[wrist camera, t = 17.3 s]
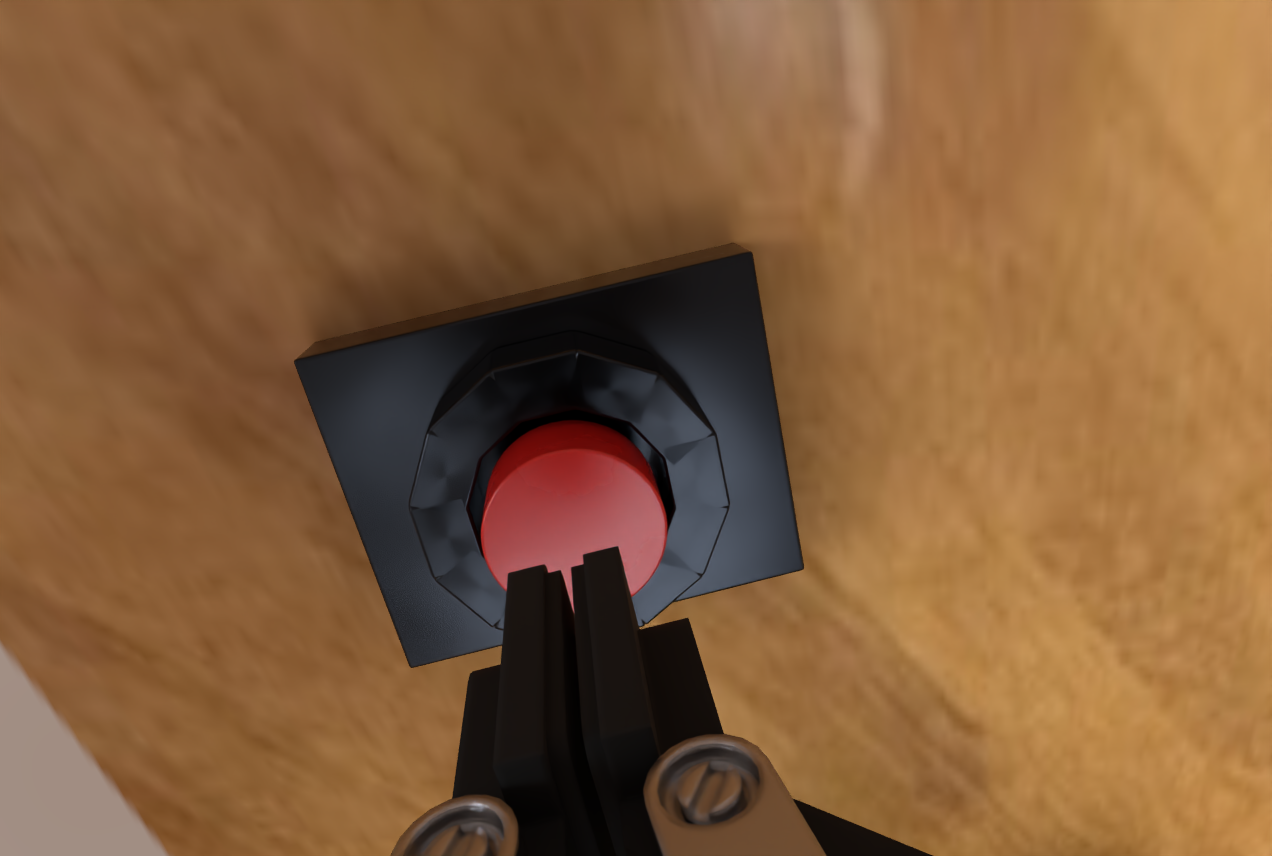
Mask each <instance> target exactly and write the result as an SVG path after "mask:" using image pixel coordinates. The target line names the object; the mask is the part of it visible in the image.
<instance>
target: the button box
mask: <svg viewBox="0 0 1272 856" xmlns="http://www.w3.org/2000/svg"><path fill="white" fill-rule="evenodd" d="M294 364H295V366H296V369H297V372H298V374H299V377H300V380H301V382H302V385H303V387H304V390H305V393H306V395H307V398H308V401H309V403H310V406H311V409H312V411H313V414H314V416H315V419H316V422H317V424H318V427H319V430H320V432H321V435H322V437H323V440H324V443H325V445H326V448H327V451H328V453H329V456H330V458H331V461H332V464H333V466H334V469H335V472H336V474H337V477H338V480H339V482H340V485H341V487H342V490H343V493H344V495H345V498H346V501H347V503H348V506H349V508H350V511H351V514H352V516H353V519H354V522H355V524H356V527H357V529H358V532H359V535H360V537H361V540H362V543H363V545H364V548H365V551H366V553H367V556H368V558H369V561H370V564H371V566H372V569H373V572H374V574H375V577H376V579H377V582H378V585H379V587H380V590H381V593H382V595H383V598H384V601H385V603H386V606H387V608H388V611H389V614H390V616H391V619H392V622H393V624H394V627H395V629H396V632H397V635H398V637H399V640H400V643H401V645H402V648H403V650H404V653H405V656H406V658H407V661H408V664H409V666H410V667H411V668H414V667H418V666H422V665H426V664H430V663H434V662H438V661H442V660H446V659H450V658H454V657H458V656H462V655H466V654H470V653H474V652H478V651H482V650H486V649H490V648H494V647H498V646H502V642H503V629H504V616H505V604H506V591H505V590H504V589H503V588H502V587H501V586H500V584H499V583H498V582H497V581H496V579H495V578H494V577H493V575H492V573H491V571H490V570H489V568H488V566H487V563H486V561H485V558H484V554H483V550H482V545H481V524H482V517H483V511H484V504H485V498H486V492H487V486H488V481H489V478H490V475H491V473H492V470H493V468H494V466H495V464H496V462H497V461H498V459H499V458H500V456H501V455H502V454H503V452H504V451H505V450H506V449H507V448H508V447H509V446H510V445H511V444H512V443H513V442H514V441H516V440H517V439H518V438H519V437H521V436H522V435H524V434H525V433H527V432H529V431H531V430H533V429H535V428H537V427H539V426H542V425H545V424H549V423H552V422H558V421H566V420H580V421H589V422H594V423H598V424H601V425H604V426H607V427H609V428H611V429H613V430H615V431H618V432H619V433H621V434H622V435H624V436H625V437H627V438H628V439H629V440H630V441H631V442H632V443H634V444H635V445H636V447H637V448H638V449H639V450H640V451H641V452H642V454H643V455H644V457H645V458H646V460H647V461H648V463H649V466H650V468H651V470H652V473H653V476H654V478H655V481H656V484H657V487H658V490H659V493H660V496H661V499H662V502H663V505H664V509H665V512H666V517H667V533H668V535H667V542H666V547H665V551H664V554H663V557H662V559H661V562H660V564H659V566H658V568H657V569H656V571H655V573H654V574H653V576H652V577H651V578H650V580H649V581H648V582H647V583H646V585H645V586H644V587H643V588H642V589H641V590H639V591H638V592H637V593H636V594H635V595H634V596H632V597H631V598H632V602H633V605H634V609H635V613H636V617H637V621H638V625H639V627H643V626H644V625H645V624H648V623H649V622H650V621H651V620H653V619H654V618H655V617H656V616H657V615H659V614H660V613H661V612H662V611H663V610H664V609H666V608H667V607H668V606H669V605H670V604H671V603H673V602H677V601H681V600H685V599H689V598H693V597H697V596H701V595H705V594H709V593H713V592H717V591H721V590H725V589H729V588H733V587H737V586H741V585H744V584H748V583H752V582H756V581H760V580H764V579H768V578H772V577H776V576H780V575H784V574H788V573H792V572H796V571H800V570H803V569H804V563H803V557H802V551H801V545H800V539H799V533H798V527H797V521H796V514H795V508H794V502H793V496H792V490H791V484H790V478H789V472H788V466H787V460H786V453H785V447H784V441H783V435H782V429H781V423H780V417H779V411H778V405H777V399H776V392H775V386H774V380H773V374H772V368H771V362H770V356H769V350H768V344H767V338H766V331H765V325H764V319H763V313H762V307H761V301H760V295H759V289H758V283H757V277H756V271H755V264H754V258H753V254H752V252H751V251H749V250H747V249H745V248H743V247H741V246H739V245H737V244H736V243H730V244H726V245H721V246H717V247H713V248H709V249H705V250H700V251H696V252H692V253H688V254H684V255H679V256H675V257H671V258H667V259H663V260H658V261H654V262H650V263H646V264H641V265H637V266H633V267H629V268H625V269H620V270H616V271H612V272H608V273H604V274H599V275H595V276H591V277H587V278H583V279H578V280H574V281H570V282H566V283H562V284H557V285H553V286H549V287H545V288H541V289H536V290H532V291H528V292H524V293H519V294H515V295H511V296H507V297H503V298H498V299H494V300H490V301H486V302H482V303H477V304H473V305H469V306H465V307H461V308H456V309H452V310H448V311H444V312H440V313H435V314H431V315H427V316H423V317H418V318H414V319H410V320H406V321H402V322H397V323H393V324H389V325H385V326H381V327H376V328H372V329H368V330H364V331H360V332H355V333H351V334H347V335H343V336H339V337H334V338H330V339H326V340H322V341H318V342H315V343H314V344H312V345H311V346H310V347H309V348H308V349H307V350H306V351H305V352H303V353H302V354H301V355H300V356H299V357H298V358H297V359H296V360H294Z"/></svg>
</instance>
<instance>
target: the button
mask: <svg viewBox="0 0 1272 856" xmlns="http://www.w3.org/2000/svg"><path fill="white" fill-rule="evenodd" d="M667 535H668V533H667V517H666V512H665V509H664V505H663V502H662V499H661V496H660V493H659V490H658V487H657V484H656V481H655V478H654V476H653V473H652V470H651V468H650V466H649V463H648V461H647V460H646V458H645V457H644V455H643V454H642V452H641V451H640V450H639V449H638V448H637V447H636V445H635V444H634V443H632V442H631V441H630V440H629V439H628V438H627V437H625V436H624V435H622V434H621V433H619V432H618V431H615V430H613V429H611V428H609V427H607V426H604V425H601V424H598V423H594V422H589V421H580V420H566V421H558V422H552V423H549V424H545V425H542V426H539V427H537V428H535V429H533V430H531V431H529V432H527V433H525V434H524V435H522V436H521V437H519V438H518V439H517V440H516V441H514V442H513V443H512V444H511V445H510V446H509V447H508V448H507V449H506V450H505V451H504V452H503V454H502V455H501V456H500V458H499V459H498V461H497V462H496V464H495V466H494V468H493V470H492V473H491V475H490V478H489V481H488V486H487V492H486V498H485V504H484V511H483V517H482V524H481V545H482V550H483V554H484V558H485V561H486V563H487V566H488V568H489V570H490V571H491V573H492V575H493V577H494V578H495V579H496V581H497V582H498V583H499V584H500V586H501V587H502V588H503V589H504V590H505V591H507V578H508V573H510V572H514V571H518V570H522V569H526V568H530V567H534V566H538V565H542V564H545V565H546V567H547V570H548V573H550V572H554V571H558V570H561V572H562V575H563V578H564V581H565V585H566V588H567V591H568V595H569V598H570V602H571V605H572V609H573V612H574V606H573V591H572V576H571V567H574V566H578V565H582V564H584V563H583V554H587V553H591V552H595V551H599V550H603V549H607V548H611V547H615V546H618V547H619V551H620V554H621V558H622V562H623V566H624V570H625V574H626V578H627V582H628V586H629V590H630V594H631V597H632V596H634V595H635V594H636V593H637V592H638V591H639V590H641V589H642V588H643V587H644V586H645V585H646V583H647V582H648V581H649V580H650V578H651V577H652V576H653V574H654V573H655V571H656V569H657V568H658V566H659V564H660V562H661V559H662V557H663V554H664V551H665V547H666V542H667Z"/></svg>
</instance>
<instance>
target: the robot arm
mask: <svg viewBox="0 0 1272 856" xmlns="http://www.w3.org/2000/svg"><path fill="white" fill-rule="evenodd" d="M583 563H584V564H582V565H578V566H574V567H571V576H572V591H573V606H574V612H573V609H572V605H571V602H570V598H569V595H568V591H567V588H566V585H565V581H564V578H563V575H562V572H561V570H558V571H554V572H550V573H548V570H547V567H546V565H545V564H542V565H538V566H534V567H530V568H526V569H522V570H518V571H514V572H510V573H508V578H507V591H506V604H505V616H504V629H503V642H502V655H501V665H497V666H493V667H489V668H485V669H481V670H477V671H473V672H472V673H471V674H470V676H469V680H468V686H467V694H466V701H465V708H464V716H463V723H462V731H461V738H460V745H459V753H458V760H457V767H456V775H455V782H454V789H453V797H452V799H450V800H448V801H446V802H444V803H442V804H440V805H438V806H436V807H434V808H432V809H430V810H429V811H427V812H426V813H425V814H423V815H422V816H421V817H419V818H418V819H417V820H416V821H414V822H413V823H412V824H411V825H410V827H409V828H408V829H407V830H406V831H405V832H404V833H403V835H402V836H401V837H400V838H399V840H398V842H397V844H396V846H395V847H394V849H393V851H392V853H391V855H390V856H932V855H930V854H927V853H925V852H922V851H920V850H918V849H915V848H913V847H910V846H908V845H905V844H903V843H900V842H898V841H896V840H893V839H891V838H888V837H886V836H883V835H881V834H878V833H876V832H874V831H871V830H869V829H866V828H864V827H861V826H859V825H856V824H854V823H852V822H849V821H847V820H844V819H842V818H839V817H837V816H834V815H832V814H830V813H827V812H825V811H822V810H820V809H817V808H815V807H812V806H810V805H808V804H805V803H803V802H800V801H798V800H795V799H793V798H792V797H791V795H790V794H789V792H788V790H787V789H786V787H785V785H784V784H783V782H782V780H781V779H780V777H779V775H778V774H777V772H776V770H775V769H774V767H773V765H772V764H771V762H770V760H769V759H768V758H767V756H766V755H765V754H764V753H763V752H762V751H761V750H760V749H759V747H758V746H756V745H754V744H752V743H751V742H749V741H747V740H745V739H743V738H740V737H736V736H731V735H727V734H724V733H723V730H722V726H721V723H720V720H719V717H718V713H717V710H716V707H715V703H714V700H713V697H712V694H711V690H710V687H709V684H708V680H707V677H706V674H705V671H704V667H703V664H702V661H701V657H700V654H699V651H698V648H697V644H696V641H695V638H694V635H693V631H692V628H691V625H690V622H689V619H688V618H685V619H681V620H677V621H673V622H669V623H665V624H661V625H657V626H653V627H649V628H645V629H641V630H640V629H639V625H638V621H637V617H636V613H635V609H634V605H633V602H632V598H631V594H630V590H629V586H628V582H627V578H626V574H625V570H624V566H623V562H622V558H621V554H620V551H619V547H618V546H615V547H611V548H607V549H603V550H599V551H595V552H591V553H587V554H583Z"/></svg>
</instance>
